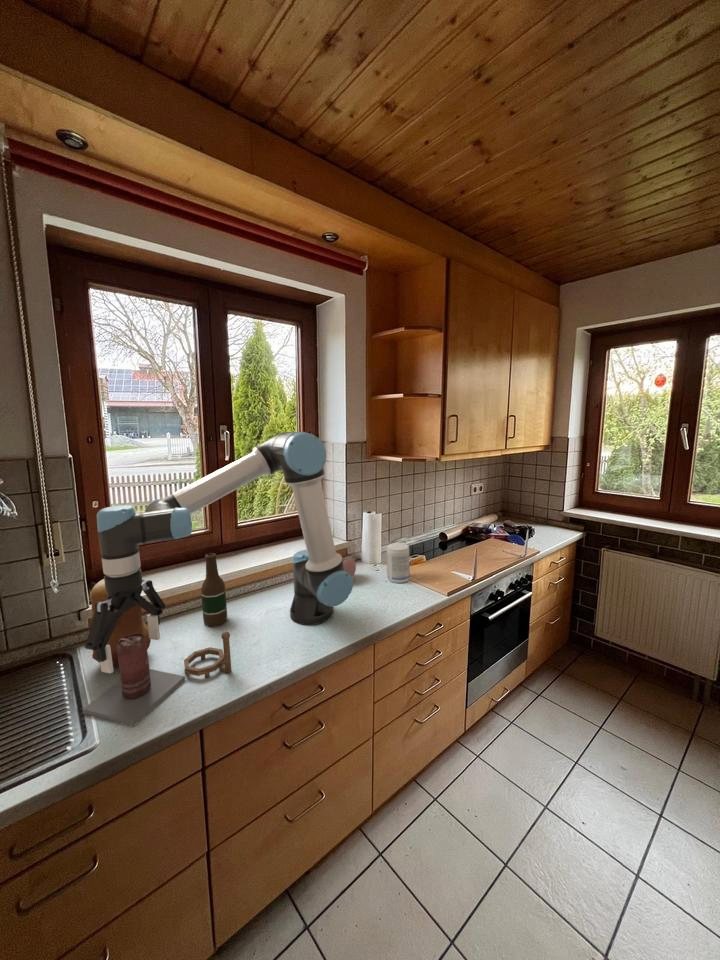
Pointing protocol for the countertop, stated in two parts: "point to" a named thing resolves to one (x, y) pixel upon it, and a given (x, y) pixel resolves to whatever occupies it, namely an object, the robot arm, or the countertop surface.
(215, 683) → the countertop surface
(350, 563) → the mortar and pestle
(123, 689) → the can
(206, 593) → the beer bottle
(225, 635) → the ring stand
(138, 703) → the plate
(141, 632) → the butternut squash
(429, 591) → the countertop surface
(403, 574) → the supplement tub
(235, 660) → the countertop surface
